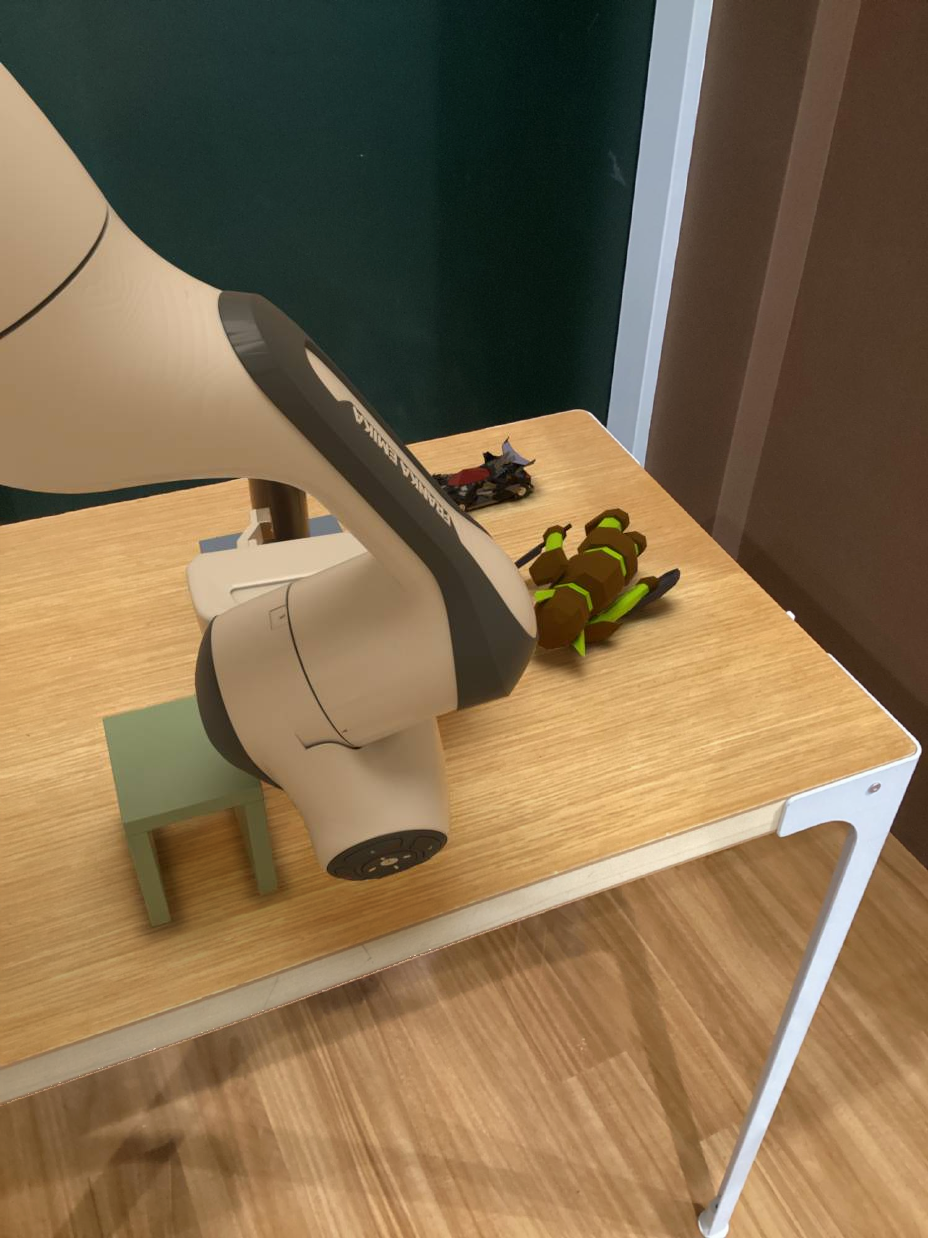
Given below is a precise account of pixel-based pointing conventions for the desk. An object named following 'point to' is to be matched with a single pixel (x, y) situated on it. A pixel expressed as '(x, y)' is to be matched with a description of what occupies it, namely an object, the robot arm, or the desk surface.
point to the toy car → (488, 480)
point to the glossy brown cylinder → (281, 508)
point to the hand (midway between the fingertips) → (324, 505)
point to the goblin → (590, 582)
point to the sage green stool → (179, 790)
